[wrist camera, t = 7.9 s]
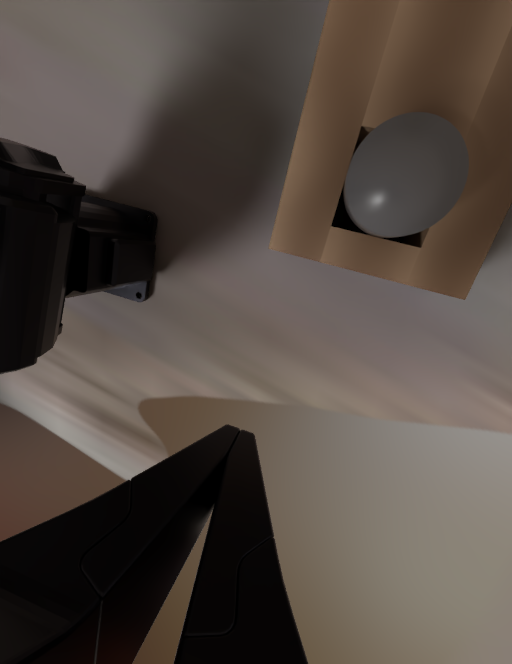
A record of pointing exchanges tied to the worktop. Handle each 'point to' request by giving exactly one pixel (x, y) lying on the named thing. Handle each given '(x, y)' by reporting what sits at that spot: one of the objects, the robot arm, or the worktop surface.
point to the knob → (406, 175)
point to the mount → (392, 100)
